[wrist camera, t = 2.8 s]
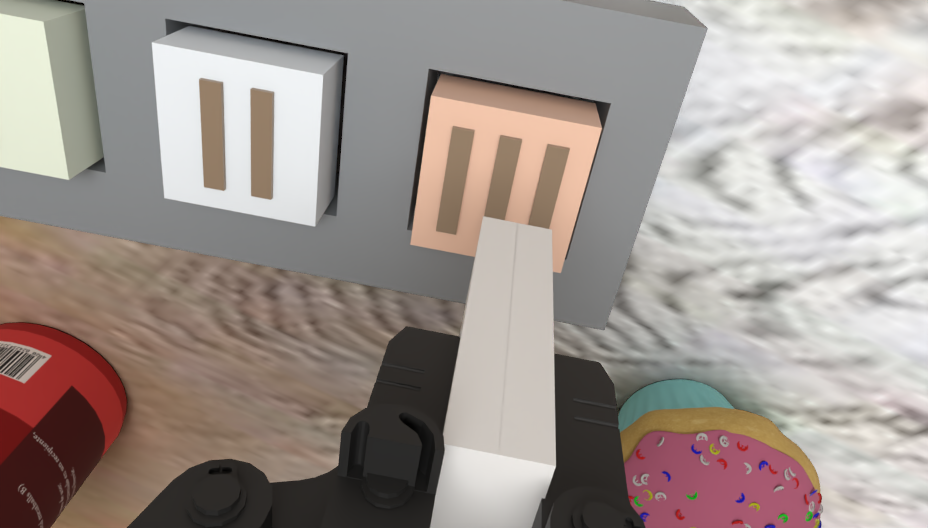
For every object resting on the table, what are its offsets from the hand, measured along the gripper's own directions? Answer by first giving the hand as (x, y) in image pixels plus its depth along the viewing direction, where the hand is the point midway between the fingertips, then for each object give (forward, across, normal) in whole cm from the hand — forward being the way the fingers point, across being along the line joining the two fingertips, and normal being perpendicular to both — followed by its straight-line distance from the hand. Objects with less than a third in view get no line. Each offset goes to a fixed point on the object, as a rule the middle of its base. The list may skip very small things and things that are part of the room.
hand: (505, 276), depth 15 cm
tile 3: (+7, 0, 0) cm, 7 cm away
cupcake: (+10, -9, +11) cm, 17 cm away
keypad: (+9, +8, 0) cm, 12 cm away
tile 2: (+7, +8, 0) cm, 10 cm away
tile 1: (+7, +15, 0) cm, 17 cm away
